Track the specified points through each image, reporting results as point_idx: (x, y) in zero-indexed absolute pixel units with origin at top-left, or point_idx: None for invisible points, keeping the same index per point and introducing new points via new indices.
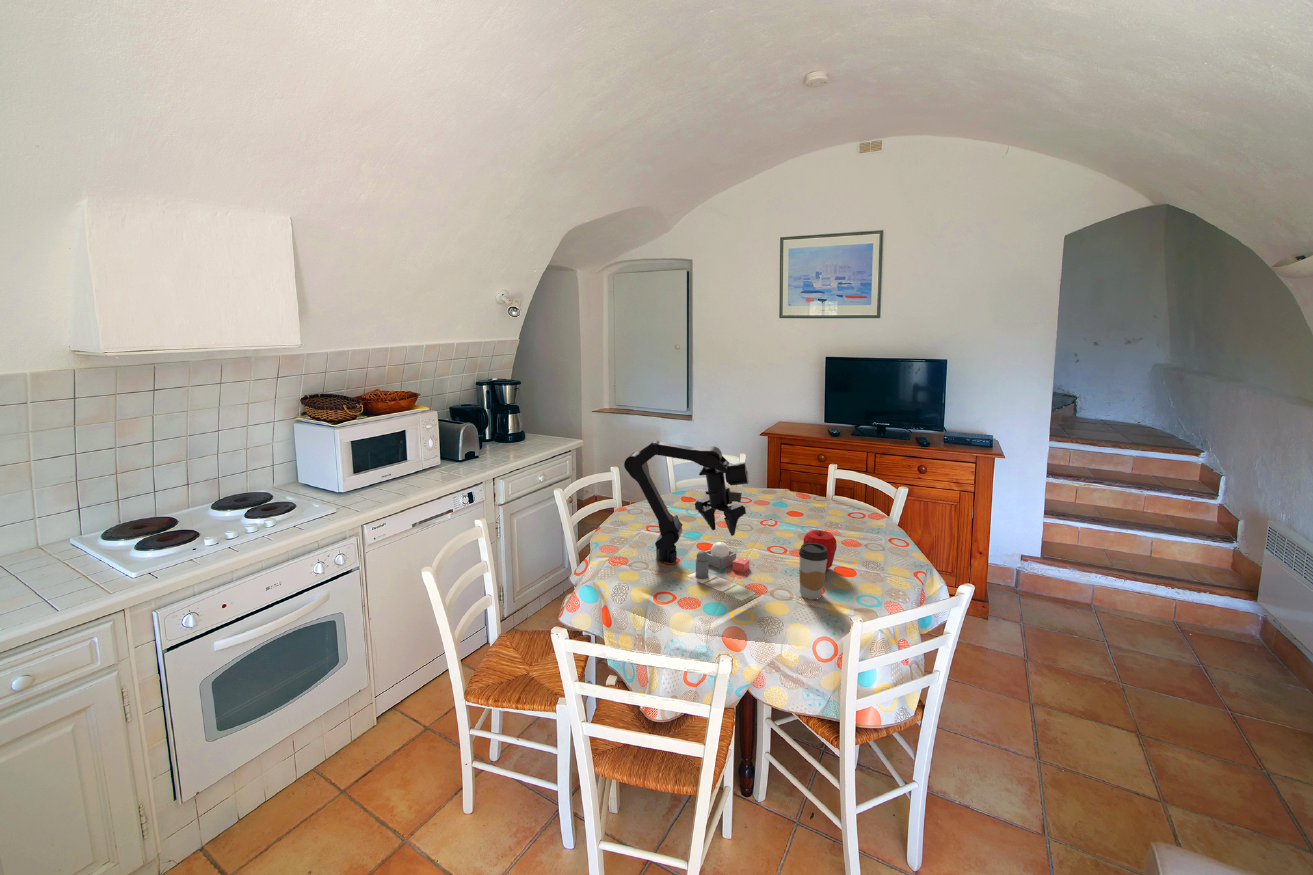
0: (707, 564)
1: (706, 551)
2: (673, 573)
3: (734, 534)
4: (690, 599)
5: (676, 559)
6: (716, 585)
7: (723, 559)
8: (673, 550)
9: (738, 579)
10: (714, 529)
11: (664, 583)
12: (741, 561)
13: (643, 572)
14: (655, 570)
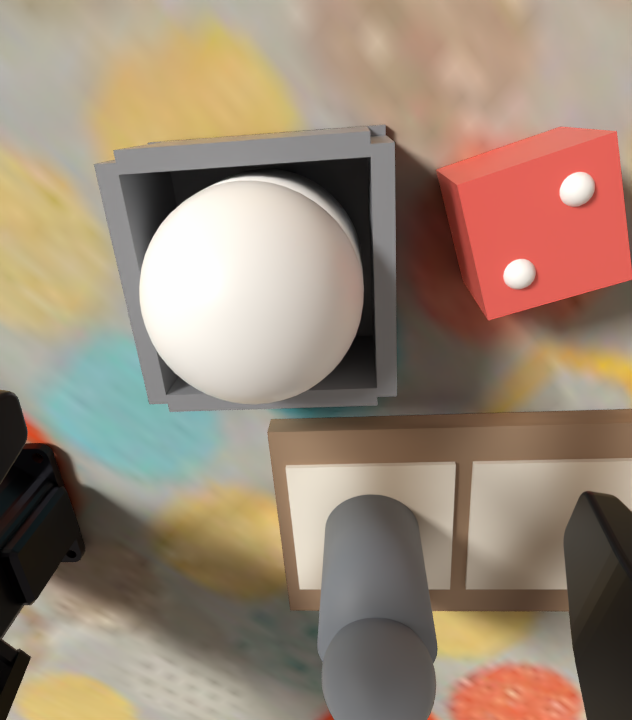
0: (432, 619)
1: (149, 372)
2: (182, 566)
3: (620, 501)
4: (494, 686)
5: (55, 505)
6: (543, 557)
7: (396, 370)
8: (3, 581)
9: (574, 329)
10: (17, 417)
11: (259, 662)
12: (564, 248)
13: (76, 654)
14: (87, 605)
